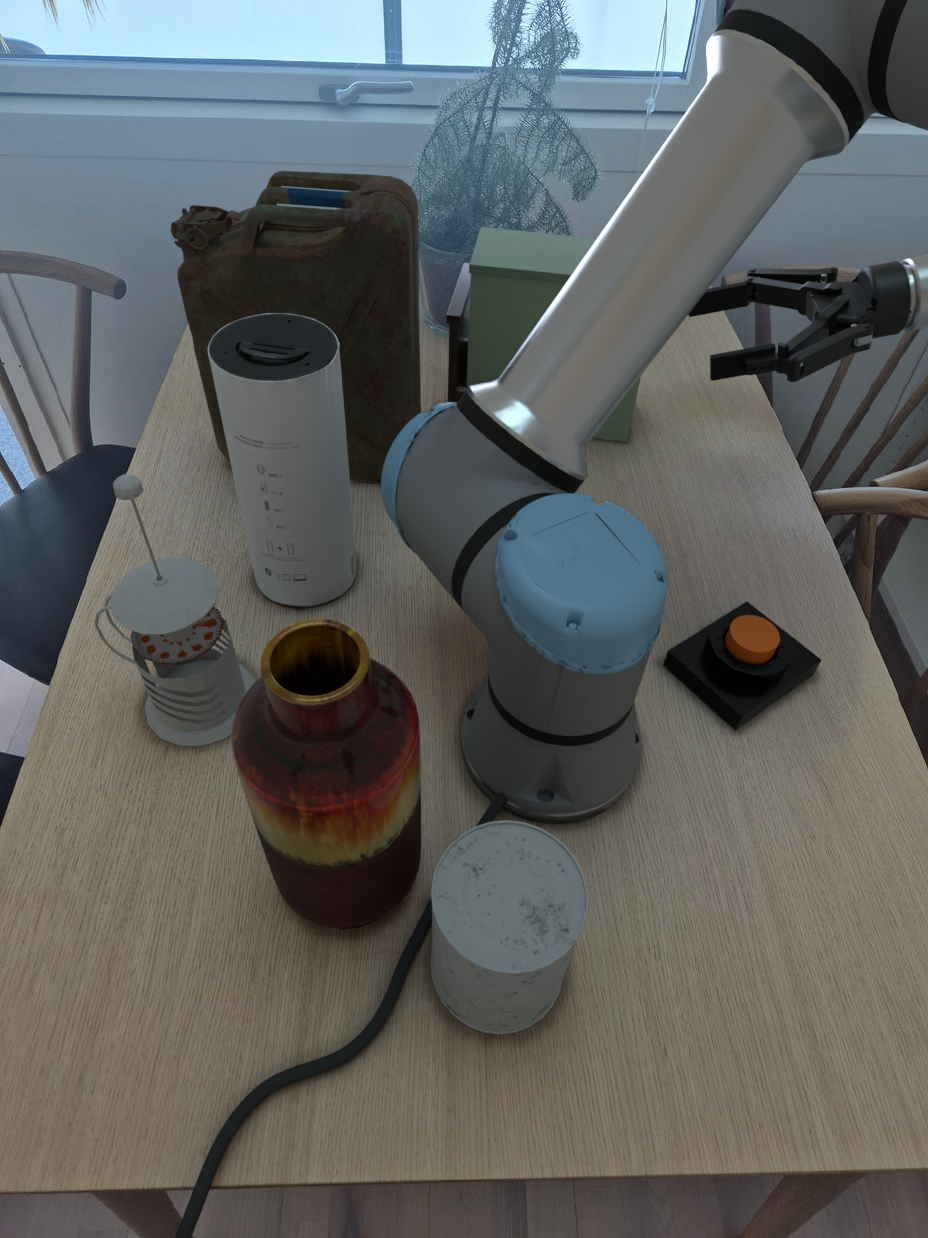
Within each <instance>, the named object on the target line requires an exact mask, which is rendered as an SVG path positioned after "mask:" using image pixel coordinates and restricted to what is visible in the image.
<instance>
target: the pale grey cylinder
mask: <svg viewBox="0 0 928 1238" xmlns="http://www.w3.org/2000/svg"><path fill="white" fill-rule="evenodd" d="M579 863H580V862H579V861H578V859H577V858H576V857H575V855H574V854H573V853H572V852H571V850H570V849H569V848H568V846H567V845H566V844H564V843H563V842H562V841H561V840H560V839H559V838H557V837H556V836H555V835H554V834H552V833H550V832H548V831H547V830H545V829H543V828H541V827H540V826H536V825H534V824H531V823H528V822H525V821H518V820H508V819H507V820H506V819H504V820H494V821H493V822H488V823H485V824H481V825H478V826H476V825H474V826H473V827H471V828H469V829H468V830H466V831H465V832H463V833H461V834H459V835H458V836H457V837H456V838H455V839H454V840H453V841H452V842H451V843H450V844H449V845H447V847H446V848H445V850H444V851H443V853H442V854H441V856H440V858H439V859H438V861H437V864H436V867H435V869H434V872H433V875H432V882H431V888H430V898H431V900H432V923H431V953H430V972H431V973H430V974H431V980H432V982H433V985H434V986H433V987H434V989H435V992H436V994H437V996H438V998H439V999H440V1001H441V1002H442V1004H443V1006H444V1008H445V1009H447V1011H449V1013H450V1014H451V1015H453V1017H454V1018H455V1019H457V1020H458V1021H459V1022H460V1023H462V1024H463V1025H465V1026H467V1027H468V1028H470V1029H473V1030H475V1031H478V1032H481V1033H484V1034H493V1035H499V1036H500V1035H507V1034H515V1033H518V1032H521V1031H523V1030H526V1029H528V1028H530V1027H532V1026H533V1025H535V1024H536V1023H538V1022H539V1021H540V1020H542V1019H544V1017H545V1016H546V1015H547V1013H548V1012H549V1011H550V1010H551V1009H552V1008H553V1006H554V1005H555V1003H556V1001H557V998H558V997H559V994H560V993H561V989H562V984H563V981H564V978H565V975H566V972H567V969H568V967H569V964H570V962H571V958H572V956H573V953H574V951H575V948H576V945H577V943H578V940H579V938H580V936H581V934H582V932H583V930H584V928H585V925H586V920H587V918H588V917H587V916H588V913H589V889H588V884H587V881H586V877H585V874H584V872H583V870H582V867H581V865H580V864H579Z"/></svg>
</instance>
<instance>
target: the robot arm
mask: <svg viewBox="0 0 928 1238" xmlns="http://www.w3.org/2000/svg"><path fill="white" fill-rule="evenodd" d="M714 4H715V5H714V16H715V25H716V29H715V31H713V33H712V34H711V35H710V37H709V39H708V40H707V42H706V46H705V48H706V49H705V52H706V53H705V54H706V55H705V56H706V68H707V77H706V78H707V79H706V82H705V85H704V86H703V87H702V89H701V90H700V92H699V93H698V95H697V96H696V97H695V99H694V100H693V102H692V103H691V105H690V106H689V107H688V109H687V110H686V112H685V113H684V115H683V116H682V117H681V119H680V120H679V121H678V123H677V124H676V126H675V127H674V129H673V130H672V132H671V133H670V134H669V135H668V137H667V139H666V140H665V142H664V143H663V144H662V145H661V147H660V148H659V150H658V152H656V154H655V156H654V157H653V158H652V159H651V161H650V163H649V164H648V166H647V167H646V169H645V170H644V171H643V173H642V174H641V176H640V177H639V178H638V180H637V181H636V183H635V184H634V185H633V187H632V188H631V190H630V191H629V193H627V195H626V197H625V198H624V199H623V201H622V203H621V204H620V205H619V207H618V208H617V209H616V211H615V212H614V214H613V215H612V217H611V218H610V220H609V221H608V223H606V225H605V226H604V228H603V229H602V231H601V232H600V233H599V235H598V237H596V238H597V239H596V241H595V242H594V244H593V245H592V246H591V248H590V249H589V251H588V252H587V254H586V255H585V256H584V258H583V259H582V261H581V262H580V264H579V265H578V266H577V268H576V269H575V271H574V272H573V273H572V275H571V276H570V278H569V279H568V281H567V282H566V283H565V285H564V286H563V288H562V289H561V290H560V292H559V293H558V295H557V296H556V298H555V299H554V300H553V302H552V303H551V305H550V306H549V308H548V309H547V310H546V312H545V313H544V315H543V316H542V317H541V319H540V320H539V322H538V323H537V325H536V326H535V327H534V329H533V330H532V332H531V333H530V335H529V336H528V337H527V339H526V340H525V342H524V343H523V344H522V346H521V347H520V349H519V350H518V352H517V353H516V354H515V356H514V357H513V359H512V360H511V361H510V363H509V364H508V366H507V367H506V369H505V370H504V371H503V373H502V374H501V376H500V377H499V378H498V379H496V380H494V381H492V382H487V383H481V384H475V385H470V386H469V387H468V388H467V390H466V391H465V393H464V394H463V395H462V397H461V398H460V400H459V401H458V403H454V402H448V401H447V402H440V403H437V404H435V405H432V406H431V407H430V409H429V412H427V413H425V412H421V413H419V414H418V415H416V416H415V417H414V418H413V419H411V420H410V421H409V422H408V423H407V424H406V425H405V426H404V428H403V429H402V430H401V431H400V433H399V434H398V435H397V437H396V438H395V440H394V442H393V443H392V445H391V447H390V449H389V451H388V454H387V456H386V459H385V462H384V466H383V470H382V477H381V483H380V493H381V497H382V503H383V507H384V509H385V512H386V514H387V515H388V517H389V519H390V521H391V523H393V525H394V526H395V527H396V529H397V532H398V535H399V536H400V538H401V540H402V542H403V543H404V544H405V546H406V547H407V548H408V549H410V550H411V552H412V553H413V554H415V555H416V556H417V557H418V559H420V561H421V562H422V563H423V564H424V565H425V567H426V568H427V569H428V570H429V572H430V573H431V574H432V575H433V577H434V578H435V579H436V580H437V581H438V582H439V583H440V585H441V586H442V588H444V589H445V591H446V592H447V594H448V595H449V596H450V597H451V598H452V600H454V602H455V603H456V604H457V605H458V606H459V607H460V608H461V610H462V611H463V613H465V615H466V616H467V617H468V619H469V620H470V621H471V622H472V623H473V624H474V626H475V628H477V630H478V631H479V632H480V634H481V635H482V636H483V637H484V638H485V641H486V642H487V644H488V647H489V657H488V658H489V659H488V671H487V673H486V675H485V676H484V678H483V679H482V680H481V681H480V683H479V684H478V686H477V687H476V689H475V690H474V692H473V693H472V695H471V697H470V699H469V701H468V703H467V705H466V709H465V710H464V715H463V716H462V717H463V718H462V723H461V732H460V733H461V735H460V746H461V753H462V758H463V762H464V764H465V767H466V769H467V771H468V773H469V776H470V777H471V778H472V780H473V782H474V783H475V784H476V786H477V787H478V789H480V790H481V792H483V794H484V795H485V796H486V797H488V798H489V799H490V800H491V801H492V802H491V803H490V804H489V806H488V807H487V809H485V812H484V813H483V814H482V816H481V817H480V819H479V820H478V822H477V823H476V825H475V826H478V825H481V824H485V823H488V822H493V821H495V820H496V818H497V816H498V815H499V814H500V812H501V810H502V809H504V810H506V811H508V812H510V813H512V814H514V815H517V816H519V817H522V818H525V819H528V820H530V821H531V820H532V821H537V822H540V823H541V822H542V823H550V824H551V823H552V824H553V823H554V824H562V823H573V822H579V821H582V820H586V819H589V818H591V817H594V816H596V815H598V814H600V813H602V812H604V811H606V810H607V809H609V808H610V807H612V806H613V805H614V804H615V803H616V802H618V801H619V800H620V799H621V798H622V797H623V795H624V794H625V792H627V790H628V788H629V787H630V785H631V783H632V781H633V779H634V776H635V773H636V771H637V768H638V766H639V762H640V758H641V757H640V756H641V747H642V745H641V744H642V737H641V730H640V724H639V719H638V717H637V711H636V710H637V709H636V705H635V700H636V699H637V695H638V692H639V689H640V686H641V683H642V679H643V677H644V673H645V671H646V667H647V665H648V662H649V658H650V655H651V652H652V650H653V647H654V646H655V643H656V642H657V640H658V638H659V635H660V632H661V630H662V627H663V619H664V615H665V610H666V608H665V607H666V604H665V603H666V599H667V594H668V582H669V576H668V575H669V574H668V567H667V563H666V560H665V557H664V554H663V551H662V550H661V548H660V545H659V543H658V542H657V540H656V538H655V537H654V535H653V534H652V533H651V532H650V530H649V529H648V528H647V527H646V526H645V524H643V522H641V520H639V519H638V518H637V517H636V516H635V515H633V514H632V513H630V512H629V511H628V510H626V509H624V508H622V507H621V506H619V505H617V504H615V503H613V502H611V501H608V500H604V501H603V502H602V503H600V504H599V503H596V502H594V501H593V499H592V496H591V495H589V494H582V493H576V492H577V491H578V489H579V488H580V487H581V486H582V484H583V483H584V482H585V481H586V480H587V478H588V476H589V473H588V461H587V448H588V445H589V444H590V443H591V441H593V439H594V438H593V437H594V436H595V435H596V433H597V432H598V431H599V430H600V428H601V427H602V426H603V424H604V423H605V422H606V420H607V419H608V418H609V417H610V415H611V414H612V413H613V411H614V410H615V409H616V407H617V406H618V405H619V404H620V402H621V401H622V400H623V398H624V397H625V396H626V394H627V393H628V392H629V391H630V389H631V388H632V387H633V385H634V384H635V383H636V381H637V380H638V379H639V378H640V376H641V377H642V375H643V374H644V373H645V371H646V370H647V369H648V367H649V366H650V365H651V364H652V362H653V361H654V360H655V359H656V357H657V356H658V355H659V354H660V352H661V350H662V349H663V348H664V346H666V344H667V343H668V342H669V340H670V339H671V337H672V336H673V335H674V334H675V332H676V331H677V330H678V328H680V326H681V324H682V323H683V322H684V321H685V319H686V318H687V317H688V318H693V317H699V316H703V315H704V316H705V315H708V314H714V313H720V312H723V311H725V312H726V311H729V310H734V309H740V308H745V307H746V308H747V307H748V306H749V305H751V304H752V303H754V304H755V303H756V304H762V305H767V306H773V307H778V308H783V309H789V310H795V311H797V312H798V314H799V315H801V316H806V318H807V319H808V321H810V322H811V323H810V324H809V325H807V326H806V327H804V328H803V329H802V330H801V331H800V332H798V333H796V334H795V335H794V336H793V337H792V338H791V339H789V340H788V341H787V342H785V343H784V342H781V341H779V342H778V343H777V346H776V344H775V343H769V344H768V343H767V344H763V345H762V344H761V345H757V346H751V347H746V348H741V349H736V350H731V351H724V352H719V353H714V354H709V379H710V381H711V382H715V381H719V380H726V379H730V378H736V377H741V376H742V377H743V376H754V375H760V374H765V373H766V374H767V373H772V372H776V373H777V374H784V375H786V380H787V381H788V382H790V383H796V382H799V381H800V380H802V379H804V378H807V377H808V376H810V375H812V374H814V373H816V372H818V371H820V370H822V369H824V368H826V367H828V366H830V365H832V364H834V363H836V362H839V360H843V359H844V358H846V357H848V356H850V355H852V354H856V353H861V352H864V351H868V350H871V347H872V341H873V339H878V338H885V337H890V336H894V335H898V334H900V333H901V332H902V331H904V332H906V333H907V332H908V333H909V332H913V331H918V330H925V329H928V254H923V255H917V256H913V257H907V258H904V259H903V260H902V261H901V262H899V261H898V260H894V261H888V262H883V263H878V264H872V265H867V266H864V267H863V268H861V269H860V271H859V272H858V273H857V275H856V276H855V277H854V279H852V280H850V281H839V280H838V277H839V276H838V275H839V268H838V267H836V266H831V267H830V266H829V267H824V268H823V267H822V268H817V269H814V268H813V269H812V268H810V269H809V268H771V267H770V268H769V267H767V268H765V267H764V268H763V267H751V268H748V269H747V271H746V277H745V278H744V280H743V281H741V282H735V283H730V284H725V285H721V286H716V287H711V285H713V283H714V282H715V280H716V279H717V278H718V276H719V275H720V274H721V272H722V271H723V270H724V268H725V267H726V266H727V265H728V264H729V262H730V261H731V260H732V259H733V257H734V256H735V254H737V252H738V251H739V250H740V248H741V247H742V245H743V244H744V243H745V241H746V240H747V239H748V237H750V235H751V234H752V233H753V232H754V230H755V229H756V227H757V226H758V225H759V223H760V222H761V221H762V219H763V218H764V217H765V216H766V214H767V213H768V212H769V210H770V209H771V208H772V206H773V205H774V204H775V203H776V201H777V200H778V199H779V198H780V196H781V195H782V193H783V192H784V191H785V189H786V188H787V187H788V186H789V184H790V183H791V182H792V180H793V179H794V178H795V176H797V174H798V173H799V172H800V171H801V169H802V167H804V165H805V164H806V163H809V162H810V161H814V160H820V159H823V158H827V157H833V156H837V155H839V154H841V153H842V152H843V151H844V149H846V148H847V146H848V145H849V144H850V142H851V141H852V140H853V138H854V137H855V136H856V135H857V133H858V132H859V131H860V130H861V129H862V127H863V126H864V124H865V123H866V122H867V121H868V119H869V118H870V117H871V116H873V114H875V113H876V114H879V115H881V116H884V117H887V118H890V119H892V120H895V121H897V122H900V123H903V124H907V125H910V126H912V127H915V128H918V129H921V130H924V131H926V132H927V131H928V0H715V2H714ZM776 350H777V352H776ZM801 364H802V366H801ZM431 926H432V900H431V897H430V898H429V899H428V902H427V904H426V906H425V907H424V910H423V912H422V914H421V915H420V917H419V920H418V921H417V923H416V925H415V927H414V929H413V931H412V933H411V935H410V936H409V938H408V940H407V943H406V944H405V946H404V949H403V950H402V953H401V954H400V957H399V959H398V961H397V963H396V967H395V969H394V971H393V974H392V976H391V978H390V981H389V984H388V987H387V989H386V991H385V993H384V996H383V998H382V1000H381V1002H380V1004H379V1006H378V1008H377V1009H376V1011H375V1013H374V1014H373V1016H372V1018H371V1019H370V1021H369V1022H368V1023H367V1024H366V1025H365V1027H364V1028H363V1029H362V1030H361V1032H359V1033H358V1035H356V1036H355V1037H354V1038H353V1039H352V1040H351V1041H350V1042H348V1043H347V1044H345V1045H344V1046H343V1047H341V1048H339V1049H337V1050H335V1051H334V1052H332V1053H329V1054H327V1055H324V1056H322V1057H320V1058H316V1059H313V1060H310V1061H307V1062H303V1063H301V1064H298V1065H295V1066H292V1067H289V1068H286V1069H284V1070H282V1071H279V1072H277V1073H275V1074H273V1075H272V1076H270V1077H268V1078H267V1079H265V1080H264V1081H262V1082H260V1084H258V1085H256V1086H255V1087H254V1088H253V1089H252V1090H251V1091H250V1092H249V1093H248V1094H247V1095H246V1096H245V1097H244V1098H242V1100H241V1101H240V1102H239V1103H238V1104H237V1106H236V1107H235V1108H234V1109H233V1111H232V1112H231V1113H230V1115H229V1116H228V1118H227V1119H226V1120H225V1122H224V1123H223V1125H222V1127H221V1128H220V1129H219V1132H218V1133H217V1135H216V1137H215V1139H214V1141H213V1142H212V1144H211V1146H210V1149H209V1151H208V1153H207V1155H206V1157H205V1159H204V1162H203V1164H202V1167H201V1169H200V1171H199V1174H198V1176H197V1179H196V1182H195V1184H194V1187H193V1189H192V1192H191V1194H190V1197H189V1200H188V1203H187V1205H186V1208H185V1209H184V1210H185V1211H184V1213H183V1215H182V1218H181V1220H180V1223H179V1225H178V1228H177V1230H176V1234H175V1237H174V1238H192V1237H193V1234H194V1232H195V1229H196V1227H197V1225H198V1222H199V1219H200V1216H201V1214H202V1211H203V1208H204V1205H205V1203H206V1201H207V1198H208V1195H209V1192H210V1190H211V1187H212V1185H213V1182H214V1179H215V1177H216V1174H217V1173H218V1170H219V1167H220V1166H221V1163H222V1160H223V1158H224V1156H225V1154H226V1152H227V1150H228V1147H229V1146H230V1144H231V1142H232V1141H233V1139H234V1137H235V1135H236V1134H237V1133H238V1131H239V1130H240V1128H241V1126H242V1125H243V1124H244V1122H245V1121H246V1120H247V1119H248V1117H249V1116H250V1115H251V1114H252V1112H253V1111H254V1110H255V1109H256V1108H257V1107H258V1106H260V1105H261V1104H262V1103H263V1102H264V1101H265V1100H266V1099H267V1098H269V1097H271V1095H273V1094H274V1093H277V1092H278V1091H280V1090H282V1089H284V1088H286V1087H288V1086H291V1085H293V1084H296V1083H298V1082H301V1081H304V1080H307V1079H310V1078H313V1077H317V1076H319V1075H322V1074H326V1073H328V1072H330V1071H333V1070H335V1069H337V1068H339V1067H341V1066H343V1065H345V1064H347V1063H348V1062H350V1061H351V1060H353V1059H355V1058H357V1056H358V1055H360V1053H362V1052H363V1051H364V1050H365V1049H366V1048H367V1047H368V1046H369V1045H370V1044H371V1043H372V1042H373V1041H374V1040H375V1038H376V1037H377V1036H378V1034H379V1033H380V1032H381V1030H382V1029H383V1027H384V1026H385V1024H386V1023H387V1021H388V1019H389V1018H390V1016H391V1014H392V1013H393V1010H394V1007H396V1006H395V1005H396V1003H397V1001H398V998H399V996H400V994H401V991H402V988H403V986H404V983H405V980H406V979H407V976H408V973H409V970H410V968H411V966H412V964H413V961H414V958H415V956H417V953H418V951H419V949H420V947H421V945H422V943H423V941H424V939H425V937H426V935H427V933H428V931H429V929H430V927H431Z"/></svg>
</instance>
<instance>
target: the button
mask: <svg viewBox="0 0 928 1238" xmlns="http://www.w3.org/2000/svg"><path fill="white" fill-rule="evenodd" d="M779 642H780V635H779V632H778V630H777V629H776V627H775V626H774V625H773V624H772V623H771V622H769V621H768V620H766V619H764V618H762V617H759V616H754V615H743V616H740V617H738V618H736V619H735V620H733V622H732V623H731V625H730V628H729V630H728V632H727V635H726V637H725V645H726V648H727V650H728V651H729V652H730V653H731V654H732V655H733V656H734V657H735V658H737V659H738V660H740V661H743V662H746V663H749V664H762V663H765V662H767V661H769V660H770V659H771V658H772V656H773V655H774V653H775V651H776V649H777V647H778V645H779Z"/></svg>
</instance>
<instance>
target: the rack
mask: <svg viewBox="0 0 928 1238" xmlns="http://www.w3.org/2000/svg"><path fill="white" fill-rule="evenodd" d="M469 264H470V262H464V263H463V265H462V267H461V271H460V274H459V276H458V278H457V279H458V280H457V283H456V285H455V289H454V291H453V295H452V298H451V301H450V304H449V306H448V310H447V312H446V316H445V317H446V324H448V328H449V329H448V361H447V362H448V363H447V364H448V365H447V366H448V368H447V370H448V371H447V402H454V403H458V401H459V400H460V398H461V397H462V395H463V394H464V393H465V391H466V390H467V388H466V382H467V358H468V333H469V308H470V283H471V273H469Z"/></svg>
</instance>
